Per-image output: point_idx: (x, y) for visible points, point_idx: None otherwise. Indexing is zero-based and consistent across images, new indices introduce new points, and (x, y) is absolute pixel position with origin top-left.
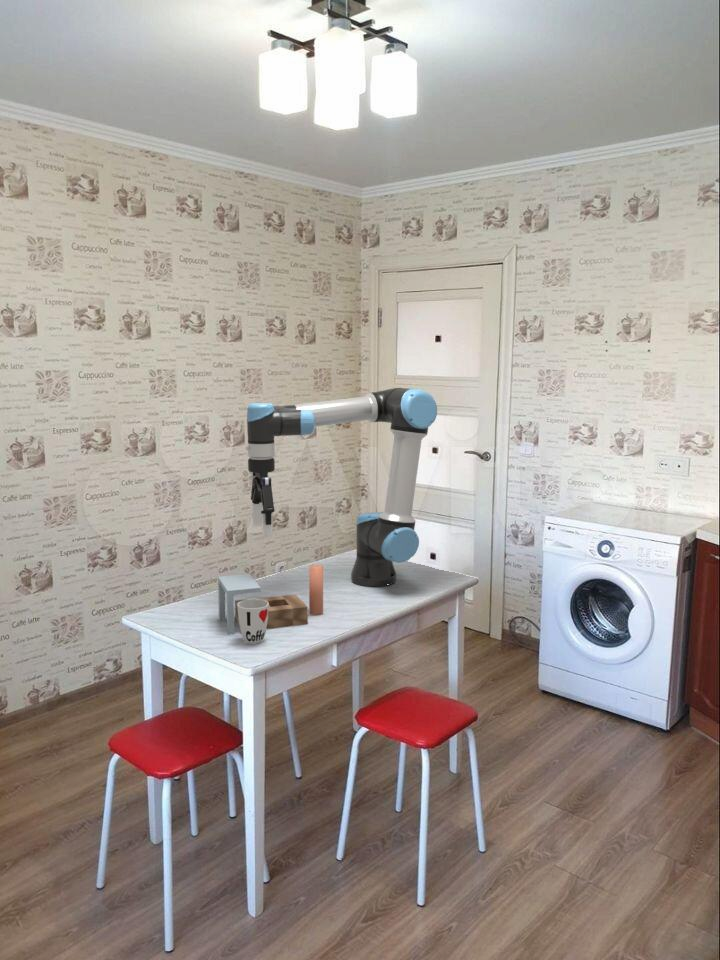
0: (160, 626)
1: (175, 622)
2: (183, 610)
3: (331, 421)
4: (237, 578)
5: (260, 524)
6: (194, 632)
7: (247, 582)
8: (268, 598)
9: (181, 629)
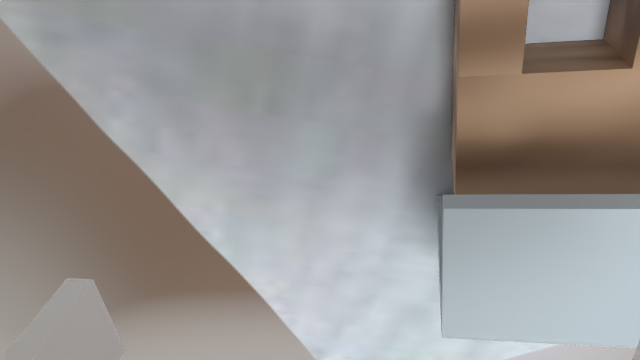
0: (452, 354)
1: (431, 321)
2: (323, 289)
3: None
4: (514, 276)
5: (95, 304)
6: None
7: (624, 250)
8: (484, 54)
9: None
